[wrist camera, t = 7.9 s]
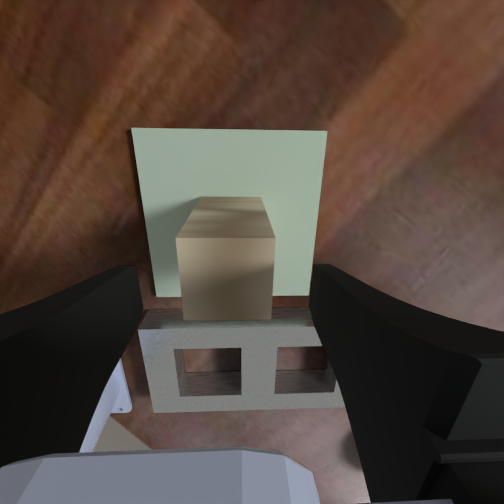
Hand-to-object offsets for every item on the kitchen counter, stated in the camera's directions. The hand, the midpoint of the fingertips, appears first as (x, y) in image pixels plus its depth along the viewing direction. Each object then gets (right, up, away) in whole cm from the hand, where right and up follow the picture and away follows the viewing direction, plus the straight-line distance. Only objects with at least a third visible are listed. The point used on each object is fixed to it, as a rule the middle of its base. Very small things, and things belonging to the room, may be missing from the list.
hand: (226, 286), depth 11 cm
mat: (0, +4, +8) cm, 9 cm away
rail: (+1, -7, +13) cm, 15 cm away
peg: (0, +3, +8) cm, 9 cm away
